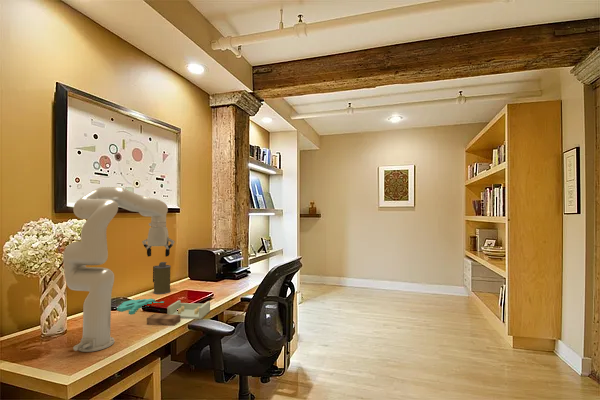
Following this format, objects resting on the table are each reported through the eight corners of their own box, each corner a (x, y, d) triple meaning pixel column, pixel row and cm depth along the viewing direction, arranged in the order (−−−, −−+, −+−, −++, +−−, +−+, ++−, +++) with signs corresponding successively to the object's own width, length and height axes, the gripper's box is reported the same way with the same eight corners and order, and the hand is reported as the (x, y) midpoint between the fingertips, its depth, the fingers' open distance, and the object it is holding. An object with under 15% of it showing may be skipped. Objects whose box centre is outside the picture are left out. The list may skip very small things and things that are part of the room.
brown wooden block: (180, 322, 155) (180, 314, 155) (174, 326, 149) (174, 319, 149) (153, 320, 156) (153, 313, 157) (146, 325, 150) (146, 318, 151)
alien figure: (164, 305, 182) (144, 300, 192) (164, 301, 182) (144, 296, 192) (130, 315, 164) (110, 309, 175) (131, 311, 164) (110, 305, 175)
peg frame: (201, 318, 158) (201, 308, 158) (167, 317, 160) (167, 306, 160) (209, 311, 170) (210, 301, 170) (178, 310, 172) (178, 300, 172)
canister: (172, 289, 215) (172, 260, 216) (167, 294, 205) (168, 263, 205) (155, 290, 214) (156, 261, 214) (150, 294, 203) (151, 263, 204)
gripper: (139, 225, 168) (139, 257, 167) (172, 225, 169) (171, 257, 168) (145, 224, 175) (145, 255, 175) (176, 224, 176) (176, 255, 176)
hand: (158, 256), depth 172 cm, fingers open, 9 cm apart
